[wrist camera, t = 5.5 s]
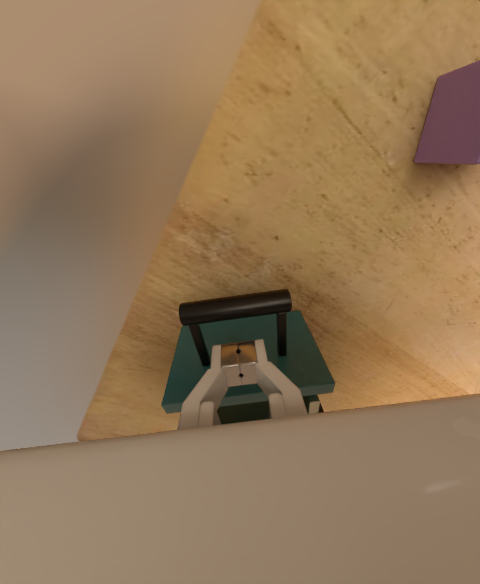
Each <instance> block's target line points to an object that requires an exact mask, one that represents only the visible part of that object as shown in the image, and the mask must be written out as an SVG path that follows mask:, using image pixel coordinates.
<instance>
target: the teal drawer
mask: <svg viewBox="0 0 480 584" xmlns="http://www.w3.org/2000/svg"><path fill="white" fill-rule="evenodd" d="M291 309H292V303H291V297H290V293H289V291H288V289H282V290H275V291H267V292H260V293H253V294H246V295H238V296H231V297H224V298H216V299H209V300H202V301H194V302H187V303H181V304H180V307H179V317H180V321H181V323H182V325H183V326H182V328H181V332H180V335H179V339H178V343H177V347H176V351H175V355H174V358H173V362H172V366H171V370H170V374H169V378H168V381H167V385H166V389H165V393H164V397H163V401H162V407H163V408H164V410H165V412H166V413H175V412H181V409H182V404H183V402H184V401H185V400H186V398H187V397H188V396H189V394H190V393H191V392H192V390H193V389H194V388H195V386H196V385H197V383H198V382H199V381H200V379H201V378H202V377H203V375H204V374H205V373H206V371H207V370H208V369H211V357H212V347H213V345H219V344H228V343H238V342H243V341H250V340H258V339H263V341H264V345H265V350H266V355H267V360H268V362H271V363H272V364H274V365H275V366H276V367H277V368H278V369H279V370H280V371H281V372H282V373H283V374H284V375H285V376H286V377H287V378H288V379H289V380H290V381H291V382H292V383H294V384H295V385H296V386H297V387H298V388H299V389H300V391H301V394H302V398H303V401H304V404H305V407H306V410H307V413H308V414H314V413H318V411H319V405H320V399H319V397H318V394H325V393H332V392H333V390H334V386H335V381H334V379H333V377H332V375H331V373H330V371H329V369H328V367H327V365H326V363H325V361H324V359H323V357H322V355H321V353H320V351H319V349H318V347H317V345H316V343H315V341H314V339H313V337H312V334H311V332H310V330H309V328H308V326H307V324H306V322H305V320H304V318H303V316H302V314H301V312H300V311H292V312H290V311H291ZM262 315H263V316H262ZM210 322H211V323H210ZM217 413H218V416H219V419H220V422H221V425H222V424H230V423H238V422H247V421H255V420H263V419H270V410H269V398H268V397H267V396H266V394H265V393H264V392H263V390H262V389H261V388H260V387H259V385H258V384H247V385H239V386H232V387H228V390H227V392H226V394H225V396H224V398H223V400H222V402H221V404H220V406H219V408H218V409H217Z"/></svg>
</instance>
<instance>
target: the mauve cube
mask: <svg viewBox="0 0 480 584" xmlns="http://www.w3.org/2000/svg"><path fill="white" fill-rule="evenodd" d="M414 163H430V164H480V60H479V61H477V62H474V63H472V64H469V65H466V66H464V67H461V68H459V69H456V70H454V71H451V72H448V73H446V74H443V75H441V76H439V77H438V80H437V84H436V87H435V91H434V94H433V97H432V101H431V104H430V108H429V111H428V115H427V118H426V121H425V125H424V128H423V132H422V135H421V139H420V142H419V146H418V149H417V152H416V156H415V159H414Z"/></svg>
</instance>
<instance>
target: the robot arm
mask: <svg viewBox="0 0 480 584" xmlns="http://www.w3.org/2000/svg"><path fill="white" fill-rule="evenodd" d="M247 384H258V385H259V387H260V388H261V389H262V390H263V392H264V393H265V394H266V396H267V397H268V398H269V410H270V419H263V420H255V421H247V422H238V423H230V424H222V425H221V422H220V419H219V416H218V413H217V409H218V408H219V406H220V404H221V402H222V400H223V398H224V396H225V394H226V392H227V390H228V387H232V386H239V385H247ZM0 584H480V394H472V395H463V396H455V397H447V398H438V399H430V400H422V401H413V402H405V403H397V404H388V405H380V406H372V407H363V408H355V409H347V410H338V411H330V412H322V413H314V414H308V413H307V410H306V407H305V404H304V401H303V398H302V394H301V391H300V389H299V388H298V387H297V386H296V385H295V384H294V383H292V382H291V381H290V380H289V379H288V378H287V377H286V376H285V375H284V374H283V373H282V372H281V371H280V370H279V369H278V368H277V367H276V366H275V365H274V364H272V363H271V362H268V360H267V355H266V350H265V345H264V341H263V339H258V340H250V341H243V342H238V343H228V344H219V345H213V347H212V357H211V369H208V370H207V371H206V373H205V374H204V375H203V377H202V378H201V379H200V381H199V382H198V383H197V385H196V386H195V388H194V389H193V390H192V392H191V393H190V394H189V396H188V397H187V398H186V400H185V401H184V402H183V404H182V409H181V414H180V420H179V425H178V430H172V431H164V432H155V433H147V434H139V435H130V436H122V437H114V438H105V439H97V440H88V441H80V442H72V443H63V444H55V445H47V446H38V447H29V448H21V449H12V450H4V451H0Z"/></svg>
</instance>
